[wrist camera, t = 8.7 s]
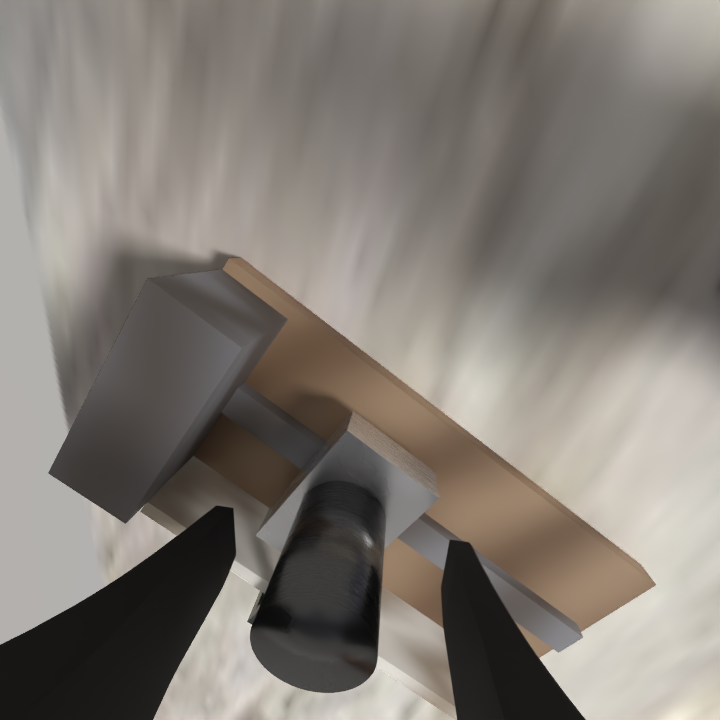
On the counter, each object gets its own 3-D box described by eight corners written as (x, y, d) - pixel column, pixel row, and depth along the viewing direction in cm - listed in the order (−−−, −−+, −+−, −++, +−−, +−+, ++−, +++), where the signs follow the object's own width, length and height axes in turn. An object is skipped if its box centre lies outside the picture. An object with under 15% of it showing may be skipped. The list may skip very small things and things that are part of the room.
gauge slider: (435, 472, 13) (458, 631, 8) (313, 588, 16) (265, 770, 10) (353, 410, 13) (316, 532, 7) (241, 540, 16) (152, 702, 10)
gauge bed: (641, 564, 16) (742, 699, 11) (494, 660, 19) (525, 799, 14) (240, 257, 14) (155, 262, 9) (144, 418, 17) (41, 486, 12)
